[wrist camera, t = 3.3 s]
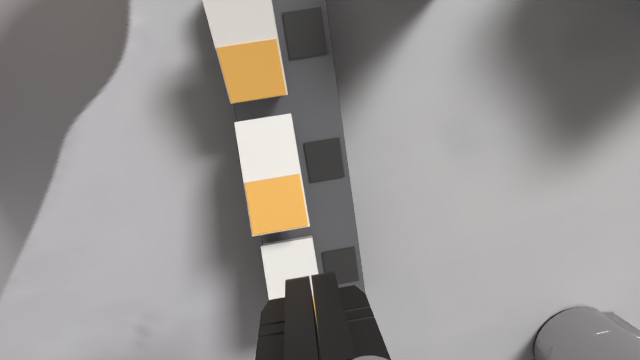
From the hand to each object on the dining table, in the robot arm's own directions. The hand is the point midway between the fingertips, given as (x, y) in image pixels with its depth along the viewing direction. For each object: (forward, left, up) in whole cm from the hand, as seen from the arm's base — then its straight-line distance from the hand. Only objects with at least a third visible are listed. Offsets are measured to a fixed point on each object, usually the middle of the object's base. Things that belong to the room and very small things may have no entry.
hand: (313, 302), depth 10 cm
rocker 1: (+2, -10, -15) cm, 18 cm away
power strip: (0, -1, -22) cm, 22 cm away
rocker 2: (+2, -1, -15) cm, 15 cm away
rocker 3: (+2, +9, -15) cm, 17 cm away
